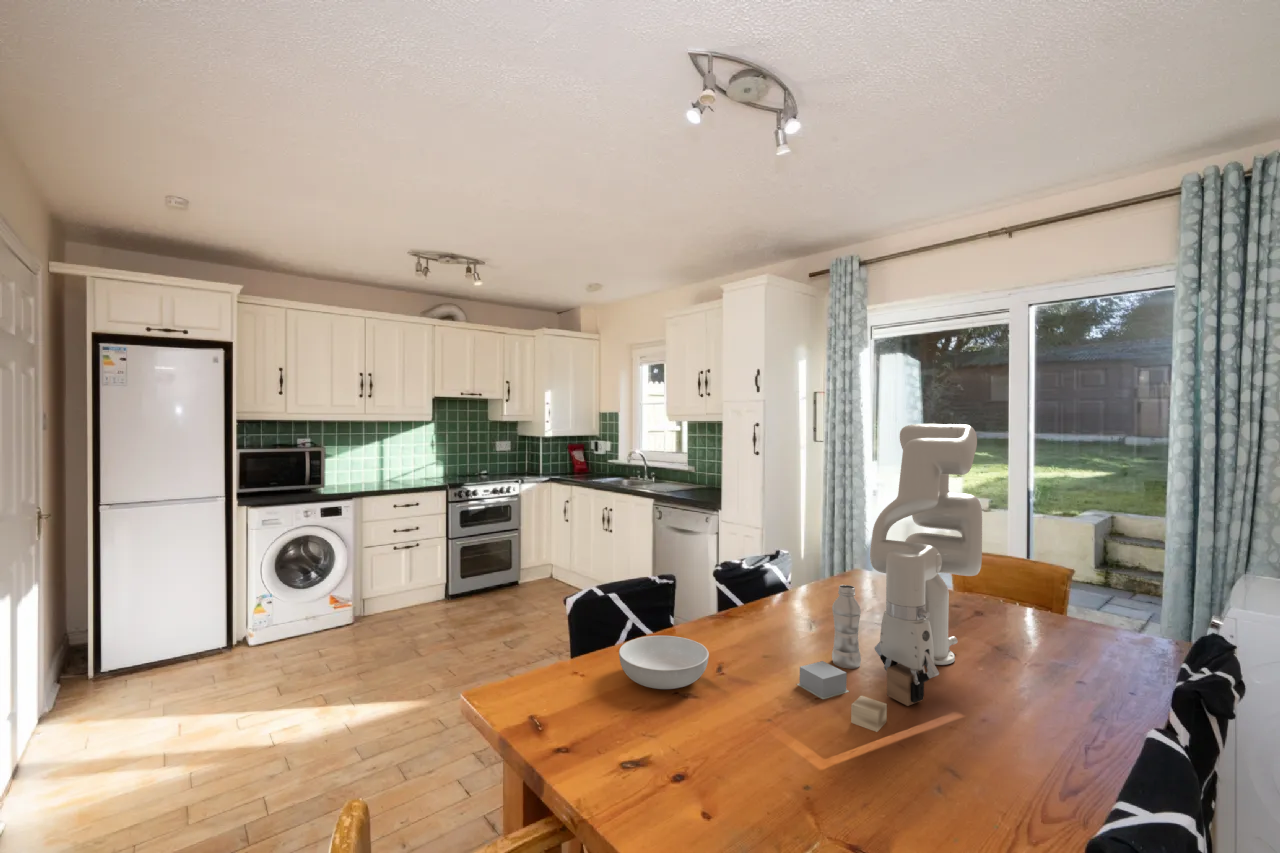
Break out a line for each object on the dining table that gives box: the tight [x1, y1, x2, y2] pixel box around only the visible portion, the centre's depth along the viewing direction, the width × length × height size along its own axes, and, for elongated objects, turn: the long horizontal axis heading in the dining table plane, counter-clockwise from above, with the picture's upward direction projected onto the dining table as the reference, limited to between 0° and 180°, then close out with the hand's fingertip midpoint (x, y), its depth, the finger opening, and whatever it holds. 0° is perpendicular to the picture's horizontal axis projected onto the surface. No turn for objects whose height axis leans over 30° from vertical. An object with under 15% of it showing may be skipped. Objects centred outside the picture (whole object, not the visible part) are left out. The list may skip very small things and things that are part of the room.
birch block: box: [850, 695, 888, 733], centre depth 113 cm, size 5×5×5 cm
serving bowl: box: [618, 635, 710, 690], centre depth 134 cm, size 21×21×7 cm
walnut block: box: [886, 663, 923, 707], centre depth 122 cm, size 5×5×6 cm
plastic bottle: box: [831, 584, 862, 670], centre depth 141 cm, size 6×7×20 cm
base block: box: [799, 660, 848, 698], centre depth 128 cm, size 7×7×4 cm
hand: (904, 693), depth 122 cm, fingers closed on walnut block, 5 cm apart
